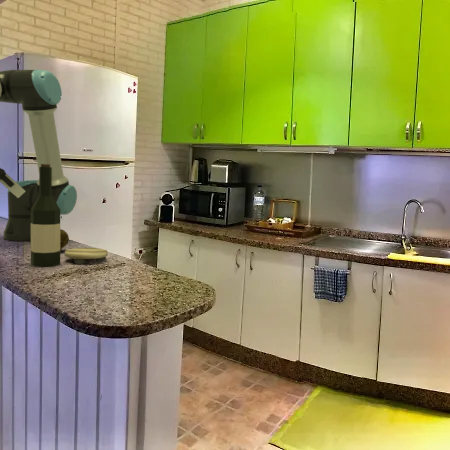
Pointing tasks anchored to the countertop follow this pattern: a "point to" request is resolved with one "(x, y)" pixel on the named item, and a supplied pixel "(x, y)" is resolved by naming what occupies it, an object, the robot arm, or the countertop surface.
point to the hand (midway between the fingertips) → (19, 193)
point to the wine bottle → (45, 223)
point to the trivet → (86, 254)
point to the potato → (63, 238)
